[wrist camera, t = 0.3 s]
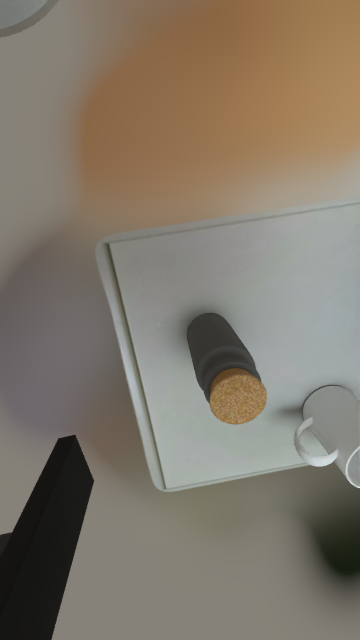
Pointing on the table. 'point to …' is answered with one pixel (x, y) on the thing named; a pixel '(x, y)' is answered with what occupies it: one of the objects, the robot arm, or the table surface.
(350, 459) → the mug
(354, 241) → the table surface
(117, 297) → the table surface
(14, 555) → the robot arm
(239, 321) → the table surface
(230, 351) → the bottle
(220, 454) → the table surface
